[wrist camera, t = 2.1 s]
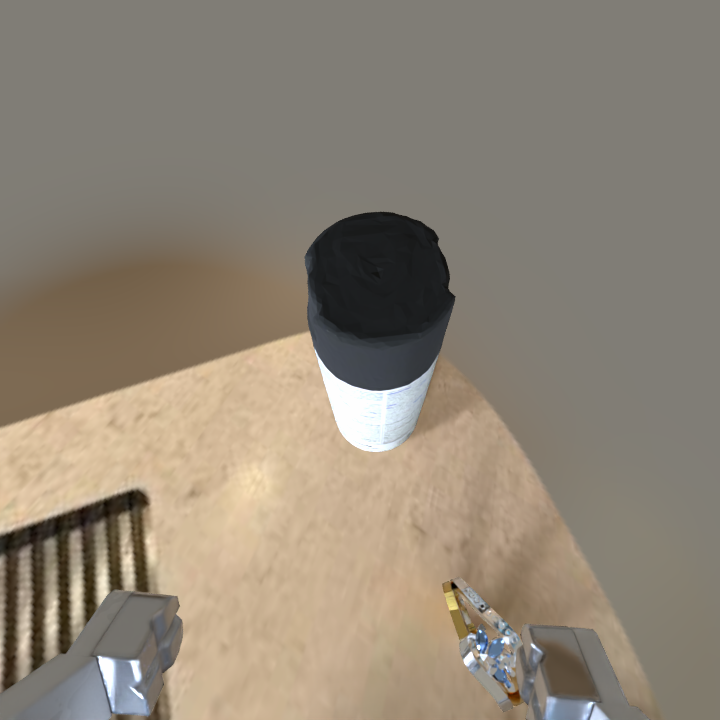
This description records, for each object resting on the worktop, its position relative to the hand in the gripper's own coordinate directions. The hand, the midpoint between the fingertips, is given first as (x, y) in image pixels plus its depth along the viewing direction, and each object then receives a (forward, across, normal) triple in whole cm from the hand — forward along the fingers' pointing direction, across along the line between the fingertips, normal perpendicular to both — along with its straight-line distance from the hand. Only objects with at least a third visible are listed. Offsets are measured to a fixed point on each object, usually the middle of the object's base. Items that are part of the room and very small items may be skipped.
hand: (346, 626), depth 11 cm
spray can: (+25, 0, +8) cm, 26 cm away
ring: (+15, -7, +18) cm, 24 cm away
